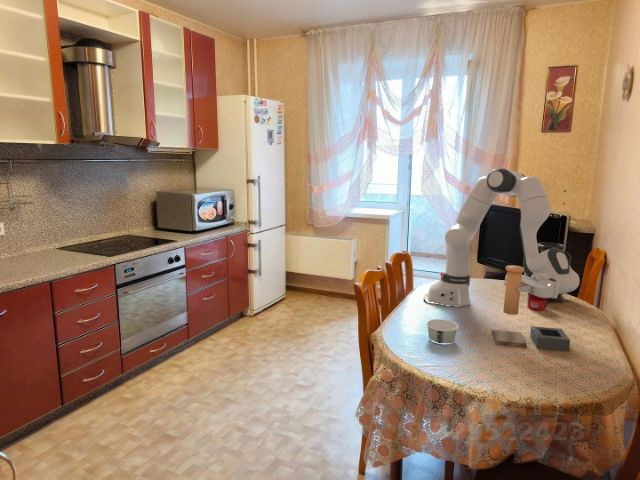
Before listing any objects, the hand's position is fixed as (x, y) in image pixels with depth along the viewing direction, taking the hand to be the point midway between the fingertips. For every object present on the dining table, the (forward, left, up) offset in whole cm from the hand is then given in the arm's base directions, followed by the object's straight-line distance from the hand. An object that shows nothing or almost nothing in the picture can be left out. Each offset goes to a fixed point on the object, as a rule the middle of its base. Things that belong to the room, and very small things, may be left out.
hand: (511, 286), depth 166 cm
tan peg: (+1, 0, -11) cm, 11 cm away
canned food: (+20, +43, -22) cm, 53 cm away
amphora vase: (+28, +61, -22) cm, 71 cm away
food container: (-25, -7, -22) cm, 34 cm away
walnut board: (+1, 0, -22) cm, 22 cm away
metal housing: (+15, 0, -22) cm, 27 cm away
